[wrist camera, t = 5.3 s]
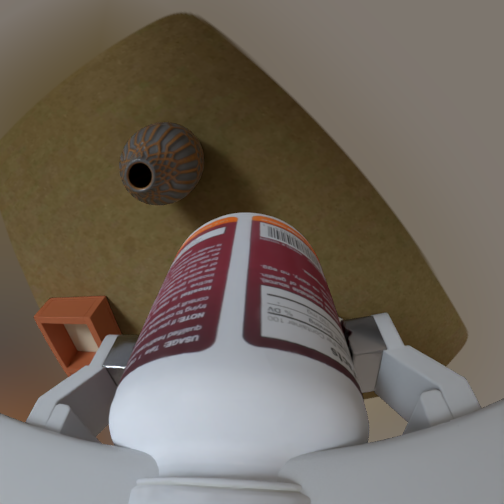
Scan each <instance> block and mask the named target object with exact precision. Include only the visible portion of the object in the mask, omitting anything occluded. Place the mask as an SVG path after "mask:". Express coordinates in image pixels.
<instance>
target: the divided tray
mask: <svg viewBox="0 0 504 504" xmlns="http://www.w3.org/2000/svg"><path fill="white" fill-rule="evenodd" d="M34 319H35V321H36V323H37V325H38V327H39V329H40V330H41V332H42V334H43V336H44V338H45V340H46V341H47V343H48V345H49V346H50V348H51V350H52V352H53V353H54V355H55V357H56V358H57V360H58V361H59V363H60V365H61V366H62V368H63V370H64V371H65V373H66V374H67V375H68V377H70V376H71V375H73V374H74V373H75V372H77V371H78V370H80V369H81V368H83V367H84V366H89V365H90V363H91V361H92V359H93V358H94V356H95V354H96V352H97V350H98V349H99V347H100V345H101V343H102V342H103V340H104V338H105V336H107V335H109V334H111V335H122V334H121V331H120V329H119V327H118V325H117V322H116V320H115V318H114V315H113V313H112V310H111V308H110V306H109V303H108V301H107V298H106V296H89V297H64V298H50V299H49V300H48V301H47V302H46V303H45V304H44V305H43V306H42V308H41V309H40V310H39V311H38V312H37V313H36V314H35V316H34Z"/></svg>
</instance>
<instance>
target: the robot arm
mask: <svg viewBox="0 0 504 504" xmlns="http://www.w3.org/2000/svg"><path fill="white" fill-rule="evenodd" d="M340 324H341V327H342V330H343V333H344V336H345V340H346V343H347V346H348V349H349V352H350V355H351V359H352V362H353V366H354V369H355V372H356V375H357V379H358V382H359V385H360V389H361V392H362V393H364V392H371V391H374V392H375V393H376V394H377V395H378V396H379V397H380V398H381V399H383V400H384V401H385V402H386V403H387V404H388V405H389V406H390V407H391V408H392V409H394V410H395V411H396V412H397V413H398V414H399V415H400V416H401V417H403V418H404V419H405V420H406V421H407V422H408V424H407V426H406V428H405V430H404V432H403V434H402V435H400V436H397V437H392V438H388V439H384V440H380V441H375V442H370V443H366V444H361V445H355V446H350V447H344V448H338V449H331V450H324V451H316V452H310V453H306V454H302V455H299V456H296V457H293V458H291V459H289V460H288V461H287V462H286V463H285V464H284V466H283V467H282V468H281V470H280V471H279V473H278V476H277V482H280V483H292V484H299V485H301V486H302V489H301V490H300V491H299V492H301V493H302V494H303V495H305V496H307V497H309V498H310V499H311V504H504V399H501V400H499V401H497V402H495V403H493V404H490V405H488V406H486V407H483V408H481V406H480V404H479V402H478V400H477V399H476V396H475V394H474V392H473V390H472V388H471V387H470V385H469V383H468V381H467V379H466V378H465V377H463V376H461V375H459V374H458V373H456V372H454V371H452V370H451V369H449V368H447V367H446V366H444V365H442V364H440V363H439V362H437V361H435V360H433V359H432V358H430V357H428V356H427V355H425V354H423V353H421V352H420V351H418V350H416V349H414V348H413V347H411V346H409V345H408V346H404V344H403V342H402V340H401V338H400V336H399V334H398V332H397V330H396V328H395V326H394V324H393V322H392V320H391V318H390V316H389V314H387V313H381V314H375V315H371V316H366V317H359V318H352V319H346V320H341V322H340ZM138 338H139V335H111V334H109V335H107V336H105V338H104V340H103V342H102V343H101V345H100V347H99V349H98V350H97V352H96V354H95V356H94V358H93V359H92V361H91V363H90V365H89V366H84V367H83V368H81V369H80V370H78V371H77V372H75V373H74V374H73V375H71V376H70V377H68V378H67V379H65V380H64V381H62V382H61V383H60V384H58V385H57V386H55V387H54V388H52V389H51V390H49V391H48V392H47V393H45V394H44V395H42V396H41V397H39V399H38V400H37V402H36V404H35V406H34V408H33V409H32V411H31V413H30V415H29V417H28V418H27V420H26V422H22V421H19V420H17V419H14V418H11V417H9V416H6V415H3V414H1V413H0V504H128V503H129V498H130V493H131V490H132V489H133V488H134V487H135V486H137V483H136V481H137V480H138V479H141V478H153V477H159V468H158V466H157V463H156V461H155V459H154V458H153V457H152V456H151V455H149V454H147V453H145V452H142V451H139V450H135V449H129V448H122V447H117V446H111V445H106V444H102V443H101V442H100V441H99V440H98V439H97V438H96V436H97V435H98V434H99V433H100V432H101V431H102V430H103V429H104V428H105V427H106V426H107V425H108V424H109V414H110V408H111V404H112V402H113V399H114V396H115V394H116V390H117V387H118V384H119V382H120V380H121V377H122V375H123V373H124V370H125V368H126V365H127V363H128V361H129V358H130V356H131V354H132V352H133V349H134V347H135V345H136V342H137V340H138Z"/></svg>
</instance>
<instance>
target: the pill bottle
mask: <svg viewBox="0 0 504 504" xmlns="http://www.w3.org/2000/svg"><path fill="white" fill-rule="evenodd" d="M109 429H110V433H111V438H112V440H113V443H114V445H115V446H117V447H122V448H129V449H135V450H139V451H142V452H145V453H147V454H149V455H151V456H152V457H153V458H154V459H155V461H156V463H157V466H158V468H159V477H153V478H141V479H138V480H137V481H136V483H137V486H135V487H134V488H133V489H132V490H131V493H130V498H129V503H128V504H311V499H310V498H309V497H307V496H305V495H303V494H302V493H301V492H299V491H300V490H301V489H302V486H301V485H299V484H292V483H280V482H277V476H278V473H279V471H280V470H281V468H282V467H283V466H284V464H285V463H286V462H287V461H288V460H289V459H291V458H293V457H296V456H299V455H302V454H306V453H310V452H316V451H324V450H331V449H338V448H344V447H350V446H355V445H361V444H366V443H368V438H369V421H368V416H367V411H366V408H365V404H364V400H363V396H362V392H361V389H360V385H359V382H358V379H357V375H356V372H355V369H354V366H353V362H352V359H351V355H350V352H349V349H348V346H347V343H346V340H345V336H344V333H343V330H342V327H341V324H340V321H339V318H338V315H337V312H336V309H335V306H334V303H333V299H332V297H331V294H330V291H329V288H328V285H327V282H326V279H325V276H324V274H323V271H322V268H321V265H320V262H319V260H318V257H317V255H316V253H315V252H314V250H313V248H312V247H311V245H310V244H309V242H308V241H307V240H306V239H305V237H304V236H303V235H302V234H301V233H300V232H299V231H297V230H296V229H295V228H293V227H292V226H290V225H289V224H287V223H286V222H284V221H282V220H280V219H277V218H275V217H272V216H268V215H264V214H258V213H234V214H228V215H225V216H221V217H219V218H216V219H214V220H211V221H209V222H207V223H206V224H204V225H202V226H201V227H199V228H198V229H197V230H195V231H194V232H193V233H192V234H191V235H190V236H189V237H188V238H187V240H186V241H185V242H184V244H183V245H182V247H181V248H180V250H179V252H178V253H177V255H176V257H175V259H174V261H173V263H172V266H171V268H170V270H169V272H168V274H167V276H166V278H165V280H164V283H163V285H162V287H161V289H160V291H159V293H158V295H157V297H156V300H155V302H154V304H153V306H152V308H151V311H150V313H149V315H148V317H147V319H146V322H145V324H144V326H143V329H142V331H141V333H140V335H139V338H138V340H137V342H136V345H135V347H134V349H133V352H132V354H131V356H130V358H129V361H128V363H127V365H126V368H125V370H124V373H123V375H122V377H121V380H120V382H119V384H118V387H117V390H116V394H115V396H114V399H113V402H112V404H111V408H110V414H109Z"/></svg>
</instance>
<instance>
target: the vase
mask: <svg viewBox="0 0 504 504" xmlns="http://www.w3.org/2000/svg"><path fill="white" fill-rule="evenodd" d="M203 169H204V153H203V149H202V146H201V144H200V142H199V140H198V139H197V138H196V136H195V135H194V134H193V133H192V132H191V131H190V130H188V129H187V128H185V127H183V126H181V125H179V124H175V123H169V122H161V123H155V124H151V125H148V126H146V127H144V128H142V129H140V130H139V131H138V132H136V133H135V134H134V135H133V136H132V137H131V138H130V139H129V141H128V142H127V143H126V145H125V147H124V149H123V151H122V154H121V157H120V164H119V170H120V176H121V179H122V182H123V184H124V186H125V188H126V189H127V191H128V192H129V193H130V194H131V195H132V196H133V197H135V198H136V199H138V200H139V201H141V202H144V203H146V204H151V205H167V204H171V203H174V202H177V201H179V200H181V199H182V198H184V197H185V196H187V195H188V194H189V193H190V192H191V191H192V190H193V189H194V188H195V186H196V185H197V183H198V182H199V180H200V178H201V175H202V172H203Z"/></svg>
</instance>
